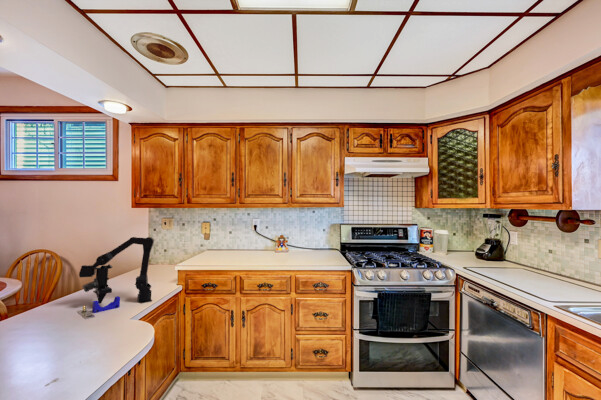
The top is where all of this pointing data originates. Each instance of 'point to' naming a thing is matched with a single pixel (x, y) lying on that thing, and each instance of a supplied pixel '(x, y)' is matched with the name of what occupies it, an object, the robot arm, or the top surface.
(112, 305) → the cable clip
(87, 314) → the steel strip
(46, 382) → the top surface
